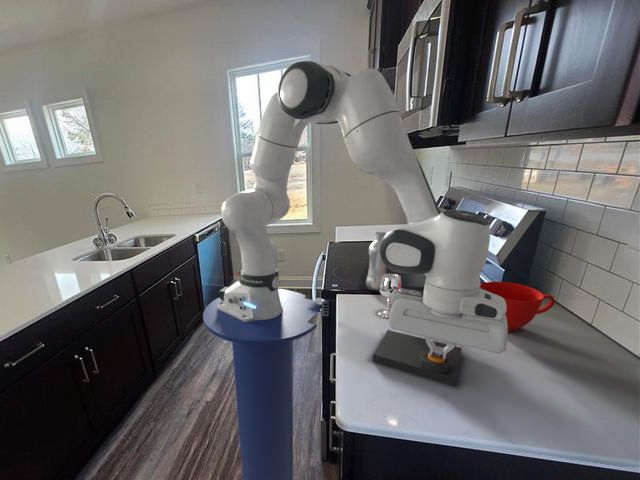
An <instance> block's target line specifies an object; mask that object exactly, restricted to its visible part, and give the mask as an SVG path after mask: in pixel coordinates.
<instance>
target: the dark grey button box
mask: <svg viewBox="0 0 640 480" xmlns="http://www.w3.org/2000/svg"><path fill="white" fill-rule="evenodd" d="M433 342H434V344H435V346H438V347H442V348H444V347H446V346H447V343H443V342H440V341H435V340H434V341H433ZM462 350H463V348H462V347H460V346H457V345H455V347H454V348H453V349H452V350H451V351H449V352H448V353H447V354H446V360H445V363H443V364H441V363H435V362H432V361H430V360H428V359H427V358H428V354H429V353H430V348H429V346H428V344H427V342H426V338H422V337H420V336H419V337H418V336H415V335H411V334H406V333H403V332H399V331H394V330H391V329H387V330H386V332H385V333H384V335H383V337H382V338H381V340H380V342H379V343H378V344H377V346H376V348H375V349H374V351H373V353H372V358H371V361H372V362H375V363H377V364H380V365H384V366H387V367H391V368H393V369H398V370H400V371H404V372H408V373H410V374H412V375H417V376H420V377H423V378H427V379H430V380H433V381H437V382H438V383H439V382H440V383H442V384H446V385H449V386H452V387H455V385H456V381H457V376H458V370H459V365H460V359H461V354H462Z"/></svg>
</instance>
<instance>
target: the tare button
mask: <svg viewBox="0 0 640 480" xmlns="http://www.w3.org/2000/svg"><path fill="white" fill-rule="evenodd" d="M429 354H430V353H429ZM429 354H428V358H427V359H428V360H430V361H432V362H435V363H441V364H443V363H445V360H446V358H445V359H443V358H438V357H434V356H430V355H429Z"/></svg>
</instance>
